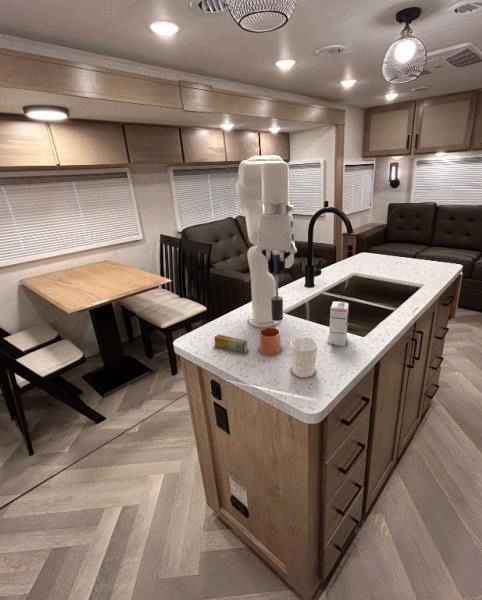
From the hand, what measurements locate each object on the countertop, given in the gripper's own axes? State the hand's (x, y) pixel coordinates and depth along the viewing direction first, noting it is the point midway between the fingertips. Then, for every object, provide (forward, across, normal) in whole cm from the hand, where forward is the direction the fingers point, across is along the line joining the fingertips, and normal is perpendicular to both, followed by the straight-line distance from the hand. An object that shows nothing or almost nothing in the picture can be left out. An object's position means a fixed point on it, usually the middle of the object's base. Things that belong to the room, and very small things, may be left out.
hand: (276, 272), depth 96 cm
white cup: (+30, -11, +6) cm, 32 cm away
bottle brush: (+16, 0, 0) cm, 16 cm away
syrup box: (+29, -17, -16) cm, 38 cm away
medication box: (+29, +17, +2) cm, 34 cm away
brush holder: (+29, +4, -2) cm, 30 cm away
